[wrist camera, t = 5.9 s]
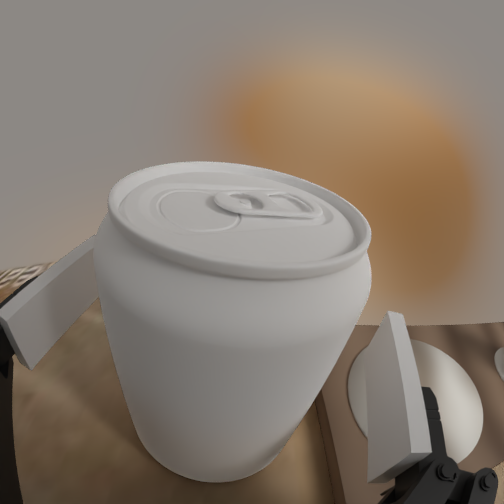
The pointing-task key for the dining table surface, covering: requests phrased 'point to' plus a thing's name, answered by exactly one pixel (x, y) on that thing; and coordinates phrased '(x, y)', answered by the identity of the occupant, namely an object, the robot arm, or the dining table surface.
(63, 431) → the dining table surface
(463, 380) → the board
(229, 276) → the beverage can
